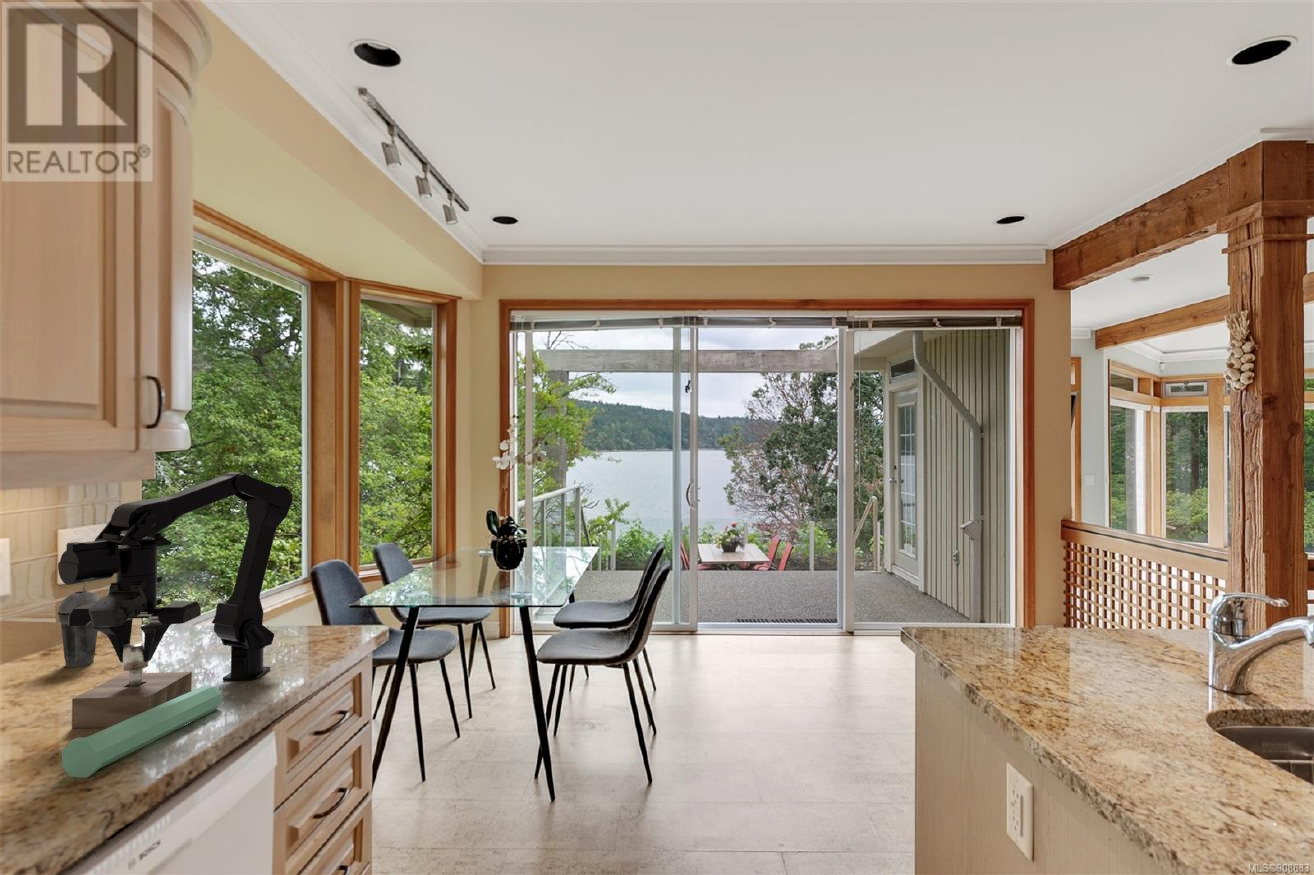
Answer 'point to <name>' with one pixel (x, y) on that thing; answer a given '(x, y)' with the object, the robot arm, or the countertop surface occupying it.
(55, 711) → the countertop surface
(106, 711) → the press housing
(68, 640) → the beverage cup
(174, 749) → the countertop surface
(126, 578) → the robot arm
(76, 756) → the mint green octagonal rod
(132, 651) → the silver metal peg
